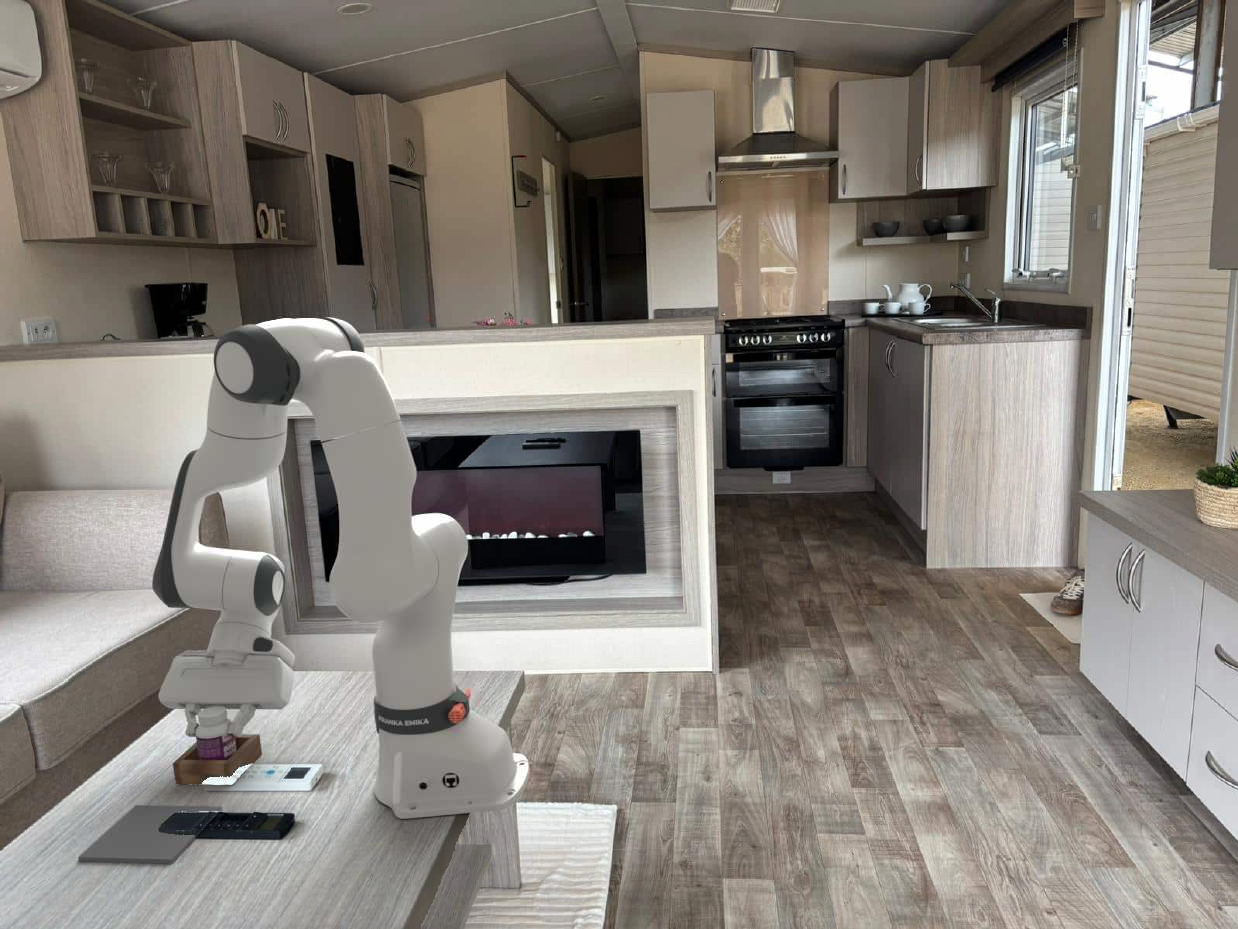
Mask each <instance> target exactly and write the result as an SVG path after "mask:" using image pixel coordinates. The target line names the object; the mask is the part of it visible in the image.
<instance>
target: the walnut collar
mask: <svg viewBox="0 0 1238 929" xmlns="http://www.w3.org/2000/svg"><path fill="white" fill-rule="evenodd" d="M235 742H236V750H237V751H236V752H235V753H234V754H233V755H232V756H231V757H230V758H229V759H228V760H199V755H198V748H197V741H196V742H195V743H193V745H191V746H190V747H189V748H188V749H187V750H186V751H185V752H184V753H182V754H181V755H180V756H179V757H178V758H177V759H176V760H175V761H173V762H172V768H173V775H174V781H175V785H176V784H181V785H182V784H187V785H186V786H189V784H192V785H191V786H200V785H199V784H202V782H203V781H204V780H206V779H207V778H209V777H220V776H221V777H222V776H223V777H227V776H228V777H230V776H232V775H233V773H235V771H236V770H237V769H238V768H239V767H242V766H245V765H248V764H251V763H254V762H255V761H256V760H257V759H260V758H261V756H262V755H263V752H262V744H261V743H262V742H261V736H260V734H259V733H258V734H255V733H254V734H253V733H251V734H250V733H249V734H247V733H246V734H244V733H242V735H241V737H235ZM257 761H258V760H257ZM257 761H256V762H257ZM256 762H255V763H256ZM255 763H254V764H255ZM195 784H197V785H195ZM181 785H180V786H181ZM182 786H183V785H182Z"/></svg>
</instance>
